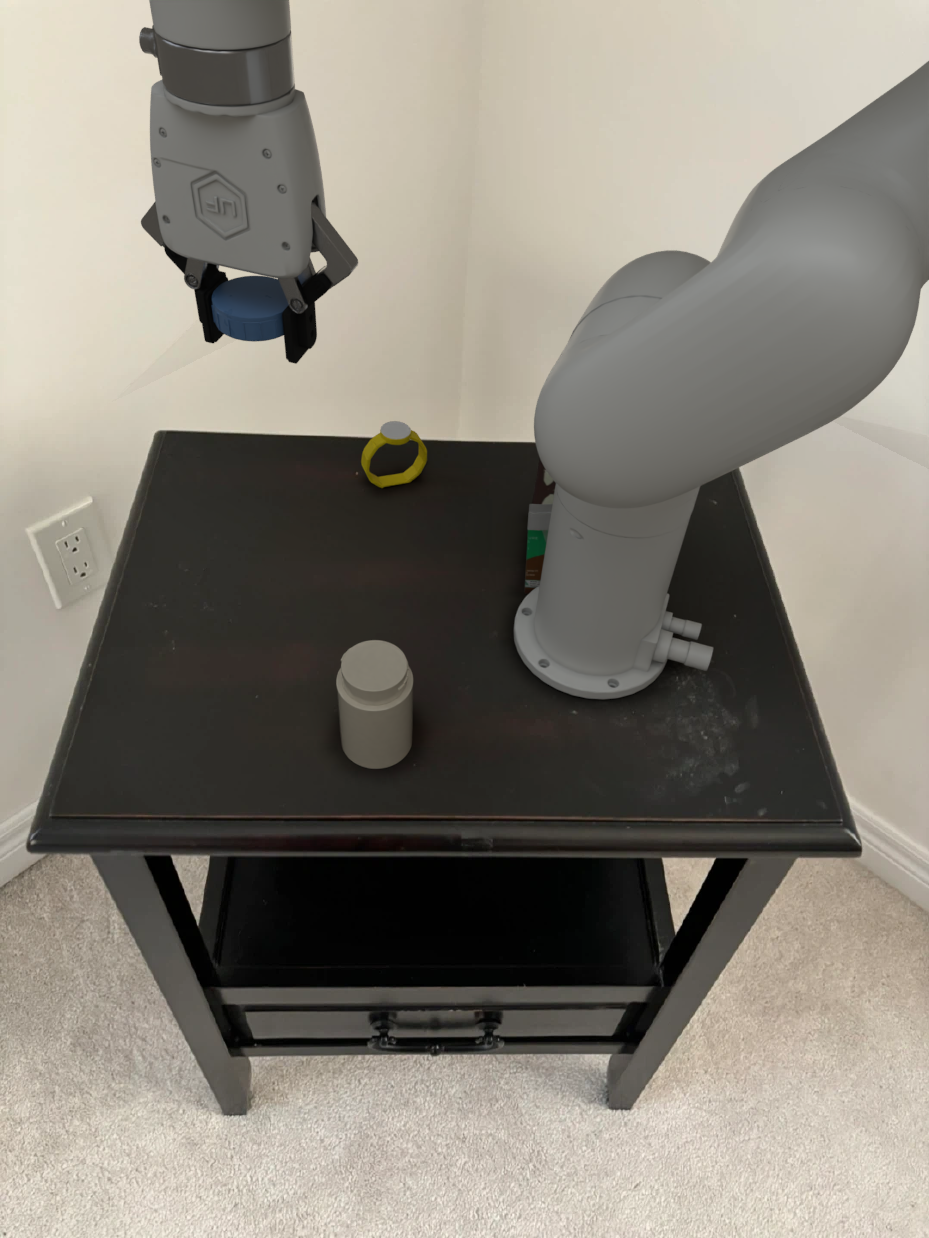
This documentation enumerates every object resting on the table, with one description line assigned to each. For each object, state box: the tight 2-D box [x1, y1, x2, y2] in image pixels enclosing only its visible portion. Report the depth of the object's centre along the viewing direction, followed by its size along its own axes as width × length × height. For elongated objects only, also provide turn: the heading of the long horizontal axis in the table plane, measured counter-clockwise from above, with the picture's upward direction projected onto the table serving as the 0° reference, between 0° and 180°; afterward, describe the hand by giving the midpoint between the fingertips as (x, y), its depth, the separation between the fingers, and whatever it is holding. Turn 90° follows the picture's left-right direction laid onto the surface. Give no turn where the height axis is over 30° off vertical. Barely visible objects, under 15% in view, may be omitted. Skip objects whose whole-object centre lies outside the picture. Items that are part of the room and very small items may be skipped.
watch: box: [360, 420, 428, 489], centre depth 85 cm, size 6×3×6 cm, turn 113°
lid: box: [211, 275, 288, 343], centre depth 65 cm, size 6×6×2 cm
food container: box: [524, 456, 556, 595], centre depth 78 cm, size 12×6×10 cm, turn 171°
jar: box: [335, 639, 414, 770], centre depth 65 cm, size 5×5×9 cm
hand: (259, 341), depth 67 cm, fingers closed on lid, 5 cm apart
